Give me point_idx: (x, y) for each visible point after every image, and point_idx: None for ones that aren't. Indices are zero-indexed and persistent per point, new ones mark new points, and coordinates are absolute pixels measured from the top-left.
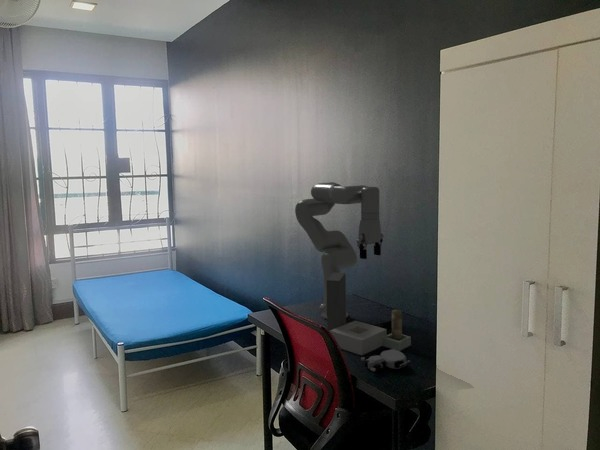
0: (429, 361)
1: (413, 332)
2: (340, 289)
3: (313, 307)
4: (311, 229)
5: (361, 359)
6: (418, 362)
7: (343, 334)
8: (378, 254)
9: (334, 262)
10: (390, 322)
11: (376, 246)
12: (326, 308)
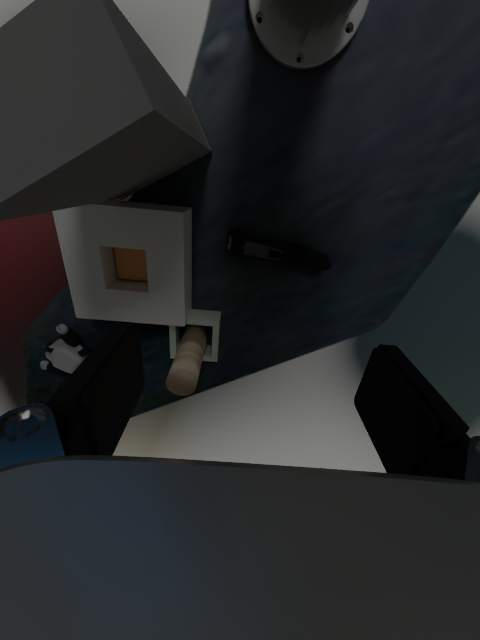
0: (172, 400)
1: (295, 322)
2: (36, 204)
3: None
4: None
5: (56, 328)
6: (155, 390)
7: (63, 257)
8: (359, 396)
9: None
10: (303, 265)
11: (412, 455)
12: None
